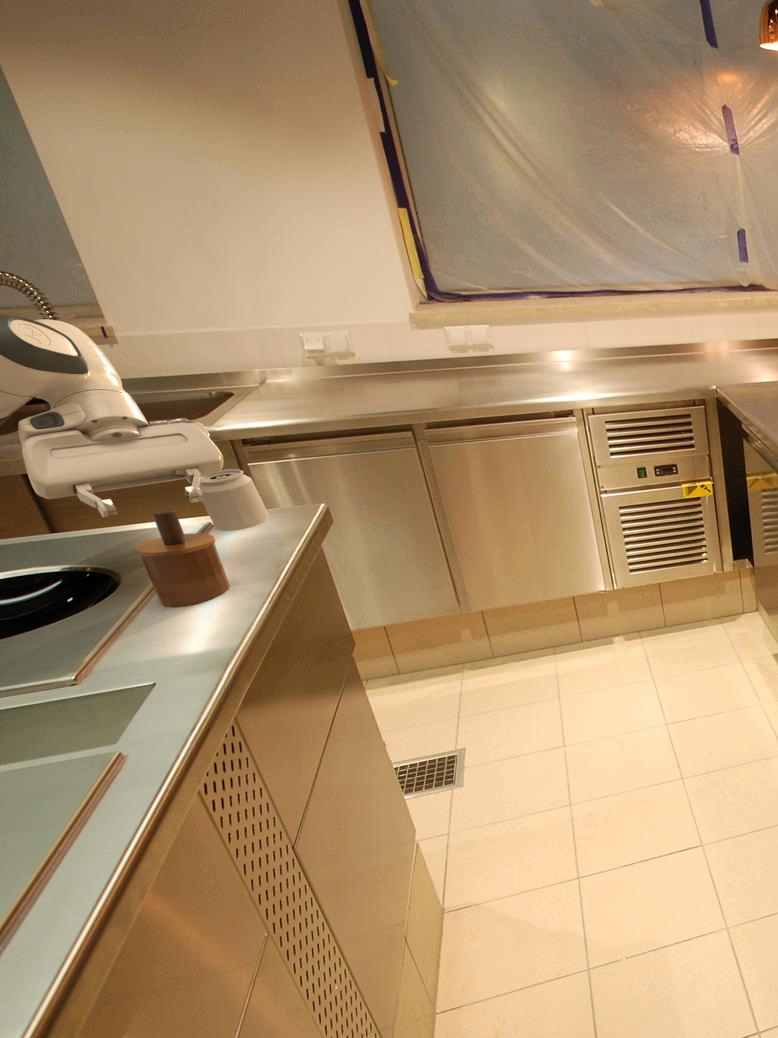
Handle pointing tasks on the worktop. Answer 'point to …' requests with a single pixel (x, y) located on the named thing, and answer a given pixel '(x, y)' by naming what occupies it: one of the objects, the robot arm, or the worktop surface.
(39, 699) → the worktop surface
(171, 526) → the basket lid
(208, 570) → the wooden cylinder
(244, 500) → the can
